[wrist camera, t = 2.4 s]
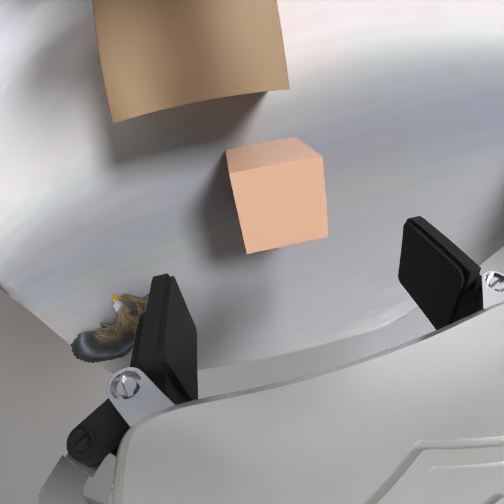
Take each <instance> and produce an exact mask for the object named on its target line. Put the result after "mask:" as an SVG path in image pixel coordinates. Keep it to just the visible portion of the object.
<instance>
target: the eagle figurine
mask: <svg viewBox="0 0 504 504" xmlns="http://www.w3.org/2000/svg"><path fill="white" fill-rule="evenodd" d="M148 298H149V295H147V296H146V297H144V298H139V297H135V296H132V295H128V294H125V295H122V296H121V297H120V299H121V300H126V301H129V302H134V303H135V304H136V306H137V313H136V312H135V311H133V310H132V309H131V308H129V307H127V306H125V305H124V304H123V303H122V302H121V301H120V300H119V299H118V298H117V297H116V295H115V294H113V302H112V305H113V307H114V309H115V311H116V312H117V315H118V320H117V322H116V323H115V324H114V325H109V324H105V323H100V325H101V328H100V329H97V330H95V331H87V332H83V333H80V334H79V335H78V337H77V338H76V339H75V340H74V341H73V343H72V344H71V347H72V348H73V349H72V352H73V353H74V356H76V358H77V359H80V360H83V361H84V362H91V363H94V362H101V361H106V360H112V359H115V358H120V357H123V356H125V355H127V354H128V353H129V352H130V350H131V349H132V348H133V347H134V342H135V336H136V331H137V326H138V321H139V317H140V315H141V314H143V313H146V308H147V303H148Z"/></svg>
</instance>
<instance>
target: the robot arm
mask: <svg viewBox="0 0 504 504" xmlns="http://www.w3.org/2000/svg"><path fill="white" fill-rule="evenodd" d="M480 269H481V268H480V267H479V266H478V265H477V264H476V263H475V262H474V261H473V260H472V259H471V258H469V257H468V256H467V255H466V254H465V253H464V252H463V251H462V250H461V249H459V248H458V247H457V246H456V245H455V244H454V243H453V242H451V241H450V240H449V239H448V238H447V237H446V236H444V235H443V234H442V233H441V232H440V231H438V230H437V229H436V228H435V227H433V226H432V225H431V224H430V223H429V222H427V221H426V220H425V219H424V218H422V217H421V216H417V217H413V218H409V219H407V221H406V223H405V224H404V227H403V239H402V248H401V257H400V265H399V273H398V278H399V281H400V283H401V284H402V285H403V287H404V288H405V289H406V291H407V292H408V293H409V294H410V296H411V297H412V298H413V299H414V301H415V302H416V303H417V305H418V306H419V307H420V309H421V310H422V311H423V313H424V314H425V315H426V317H427V318H428V319H429V320H430V322H431V323H432V325H433V326H434V327H435V329H436V331H434V332H431V333H429V334H427V335H424V336H422V337H419V338H417V339H414V340H412V341H409V342H407V343H404V344H401V345H399V346H396V347H393V348H391V349H388V350H385V351H382V352H380V353H377V354H374V355H371V356H368V357H365V358H362V359H359V360H356V361H353V362H350V363H347V364H344V365H340V366H337V367H334V368H330V369H327V370H324V371H320V372H316V373H313V374H310V375H306V376H302V377H298V378H295V379H290V380H286V381H282V382H279V383H274V384H270V385H265V386H260V387H256V388H252V389H247V390H242V391H237V392H232V393H228V394H222V395H217V396H212V397H207V398H203V399H198V382H197V332H196V327H195V325H194V322H193V320H192V318H191V315H190V313H189V311H188V308H187V306H186V304H185V301H184V299H183V297H182V294H181V292H180V289H179V287H178V284H177V282H176V279H175V277H174V276H172V277H170V276H169V275H168V274H163V275H159V276H154V277H153V279H152V284H151V288H150V293H149V298H148V303H147V308H146V313H143V314H141V315H140V317H139V321H138V326H137V331H136V336H135V342H134V347H133V353H132V358H131V364H130V367H126V368H123V369H121V370H119V371H117V372H116V373H115V374H114V375H113V376H112V377H111V378H110V380H109V381H108V383H107V387H106V392H107V395H108V399H107V400H106V401H105V402H104V403H103V404H101V405H100V406H99V407H98V408H97V409H96V410H95V411H94V412H93V413H91V414H90V415H89V416H88V417H87V418H86V419H85V420H83V421H82V422H81V423H80V424H79V425H78V426H77V427H76V428H75V429H73V430H72V432H71V433H70V434H69V437H68V439H67V451H68V454H67V455H66V457H65V456H61V458H60V460H59V461H58V463H57V464H56V466H55V467H54V469H53V471H52V472H51V474H50V475H49V477H48V479H47V480H46V482H45V483H44V485H43V487H42V488H41V490H40V493H39V503H40V504H108V499H109V496H110V494H111V492H112V504H504V274H503V273H500V272H498V271H493V270H492V271H487V272H485V273H484V274H483V275H482V276H481V275H480V274H479V273H480ZM112 484H113V488H112V487H111V486H112ZM112 490H113V491H112Z"/></svg>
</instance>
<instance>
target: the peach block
mask: <svg viewBox="0 0 504 504" xmlns="http://www.w3.org/2000/svg"><path fill="white" fill-rule="evenodd" d="M226 156H227V163H228V170H229V176H230V180H231V185H232V189H233V194H234V198H235V203H236V207H237V212H238V216H239V221H240V225H241V230H242V234H243V239H244V243H245V248H246V252H247V254H250V253H254V252H259V251H264V250H269V249H273V248H278V247H283V246H287V245H292V244H297V243H301V242H306V241H311V240H316V239H320V238H325V237H328V221H327V206H326V192H325V180H324V169H323V159H322V156H321V155H319V154H318V153H317V152H315V151H314V150H313V149H311V148H310V147H309V146H307V145H306V144H305V143H303V142H302V141H300V140H299V139H298V138H296V137H290V138H284V139H278V140H272V141H266V142H261V143H255V144H250V145H245V146H240V147H235V148H230V149H226Z"/></svg>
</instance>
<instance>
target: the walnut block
mask: <svg viewBox="0 0 504 504" xmlns="http://www.w3.org/2000/svg"><path fill="white" fill-rule="evenodd" d="M93 11H94V20H95V28H96V35H97V42H98V49H99V55H100V62H101V67H102V73H103V79H104V84H105V89H106V94H107V99H108V104H109V108H110V113H111V117H112V122H113V124H114V123H117V122H120V121H124V120H127V119H130V118H134V117H137V116H141V115H145V114H148V113H152V112H156V111H160V110H164V109H168V108H172V107H177V106H181V105H186V104H190V103H195V102H200V101H206V100H211V99H217V98H222V97H229V96H235V95H242V94H249V93H257V92H265V91H274V90H285V89H289V81H288V73H287V65H286V58H285V51H284V44H283V37H282V31H281V24H280V18H279V12H278V6H277V0H93Z"/></svg>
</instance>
